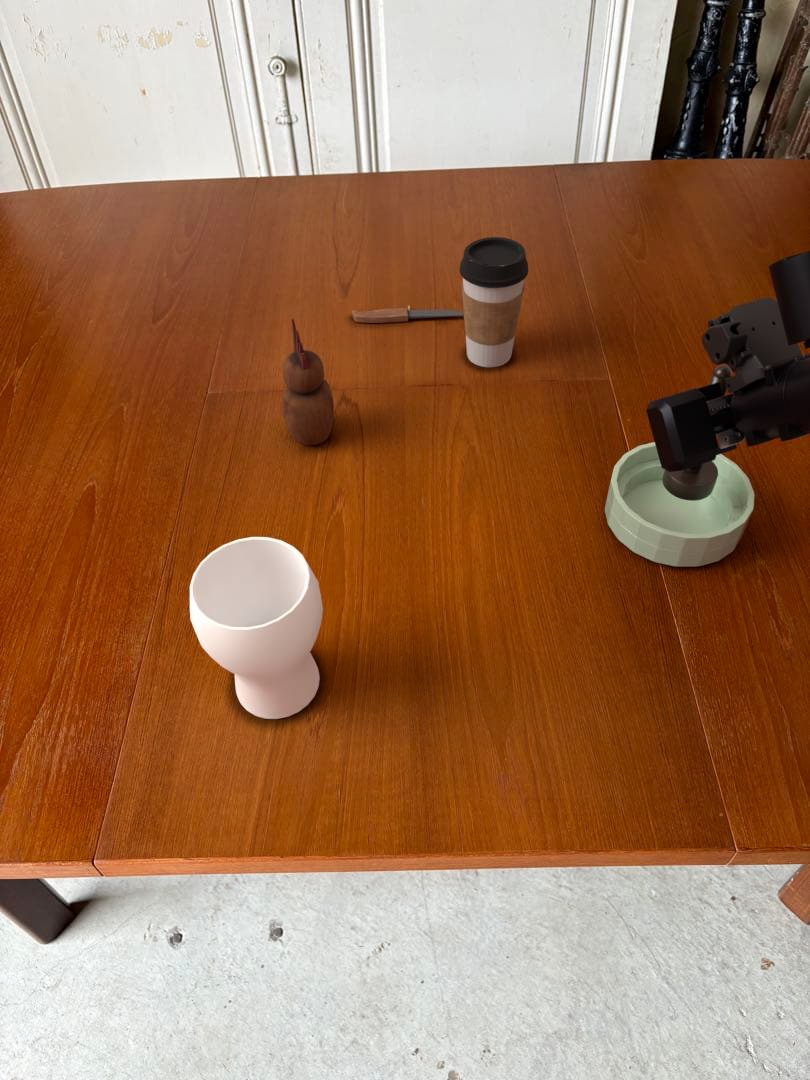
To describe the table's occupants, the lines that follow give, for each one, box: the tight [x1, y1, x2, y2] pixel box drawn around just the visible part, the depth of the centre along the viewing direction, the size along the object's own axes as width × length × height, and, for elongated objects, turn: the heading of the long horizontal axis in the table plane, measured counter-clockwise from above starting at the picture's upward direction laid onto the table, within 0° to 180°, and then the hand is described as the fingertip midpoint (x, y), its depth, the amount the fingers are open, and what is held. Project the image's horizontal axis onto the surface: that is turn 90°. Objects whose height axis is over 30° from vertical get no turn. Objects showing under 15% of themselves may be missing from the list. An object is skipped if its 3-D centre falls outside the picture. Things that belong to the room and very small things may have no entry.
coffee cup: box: [459, 236, 529, 368], centre depth 103 cm, size 8×8×15 cm
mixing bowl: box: [604, 441, 755, 568], centre depth 86 cm, size 14×14×5 cm
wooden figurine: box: [282, 318, 335, 446], centre depth 93 cm, size 7×6×15 cm
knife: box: [351, 305, 464, 324], centre depth 114 cm, size 17×1×3 cm
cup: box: [189, 536, 324, 720], centre depth 70 cm, size 11×11×15 cm
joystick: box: [662, 364, 733, 501], centre depth 77 cm, size 5×5×14 cm
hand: (696, 421), depth 78 cm, fingers closed on joystick
